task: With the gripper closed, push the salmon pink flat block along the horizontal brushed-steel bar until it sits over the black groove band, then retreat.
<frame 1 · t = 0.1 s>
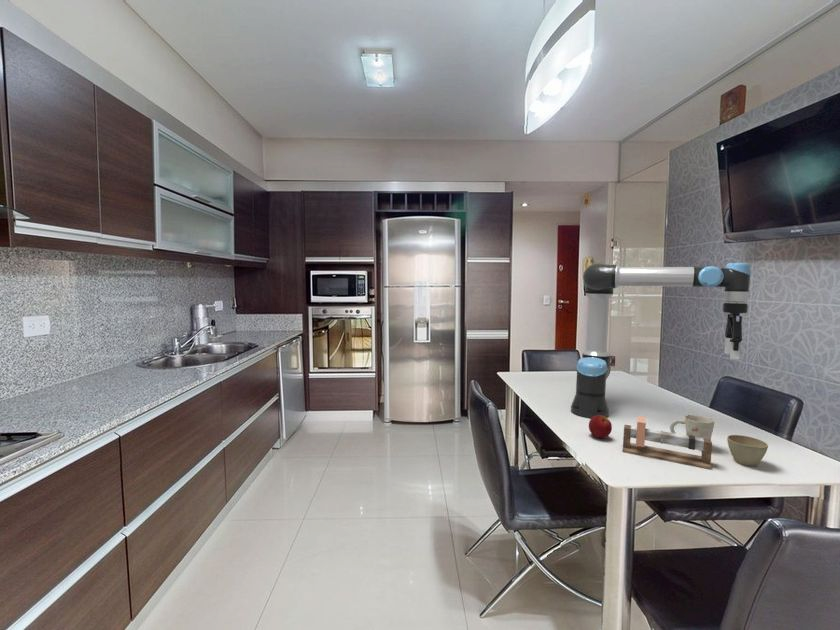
hand: (731, 356, 157), 28 cm above the table, fingers open, 13 cm apart
beige bowl: (745, 463, 126), on the table
pipe stand: (664, 455, 130), on the table
mug: (690, 446, 139), on the table
apple: (599, 437, 145), on the table
salmon pink flat block: (641, 431, 133), point 7 cm above the table, slide at 0.0 cm
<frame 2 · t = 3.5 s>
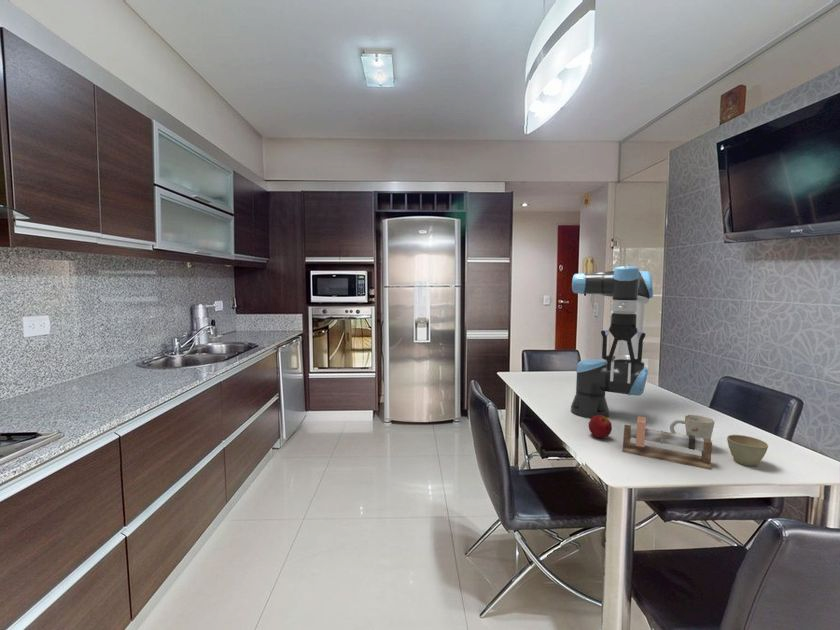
hand: (620, 381, 135), 23 cm above the table, fingers open, 4 cm apart
nothing on the table moved.
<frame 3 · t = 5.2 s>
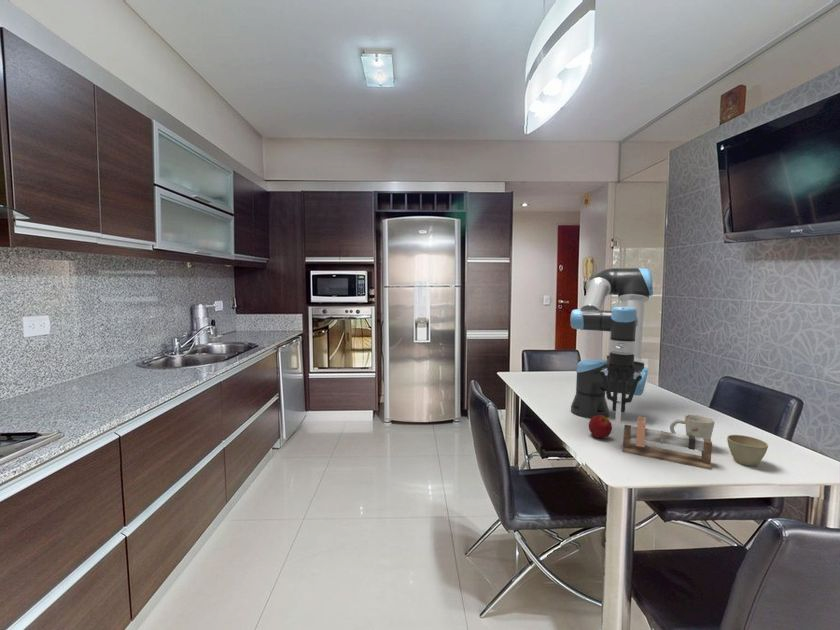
hand: (618, 420, 136), 9 cm above the table, fingers closed
nothing on the table moved.
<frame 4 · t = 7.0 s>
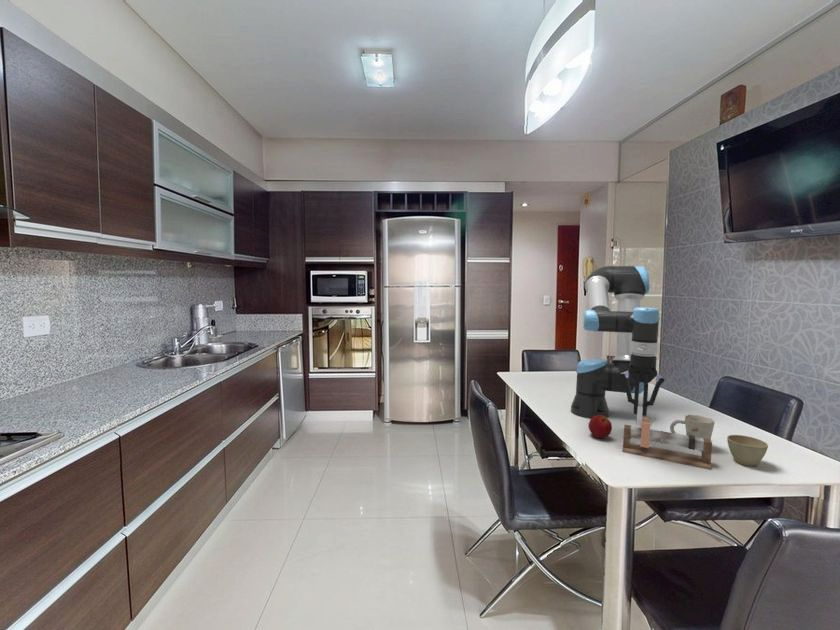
hand: (639, 424, 133), 9 cm above the table, fingers closed
salmon pink flat block: (645, 432, 132), point 7 cm above the table, slide at 1.3 cm, touching gripper
everything else where it was.
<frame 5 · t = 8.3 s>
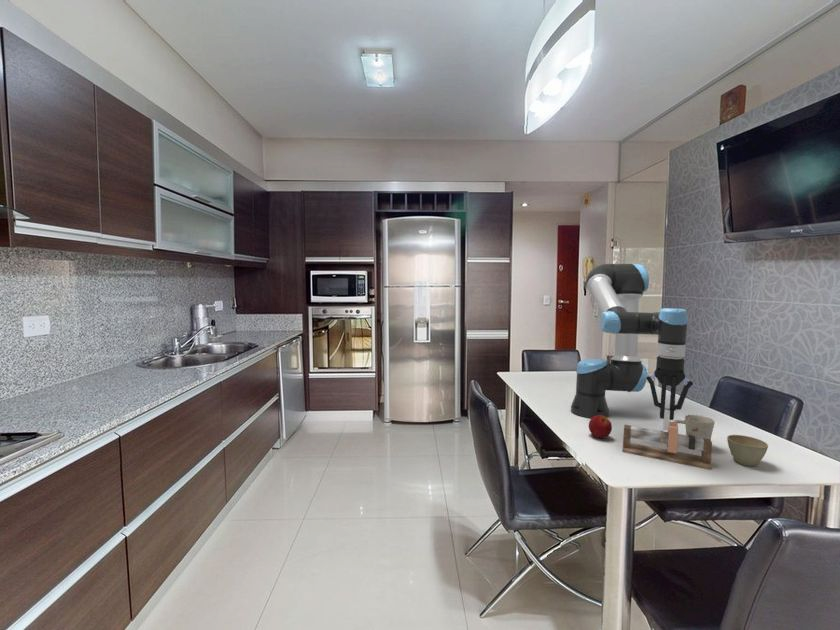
hand: (665, 428, 129), 9 cm above the table, fingers closed
salmon pink flat block: (672, 436, 128), point 7 cm above the table, slide at 8.9 cm, touching gripper
everything else where it was.
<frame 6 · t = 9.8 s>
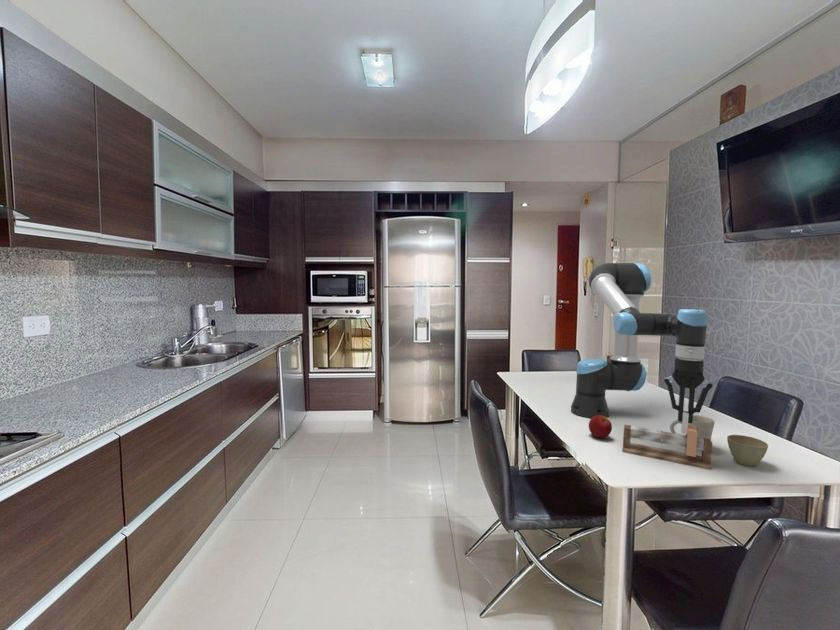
hand: (684, 432, 126), 9 cm above the table, fingers closed
salmon pink flat block: (691, 440, 126), point 7 cm above the table, slide at 13.8 cm, touching gripper
everything else where it was.
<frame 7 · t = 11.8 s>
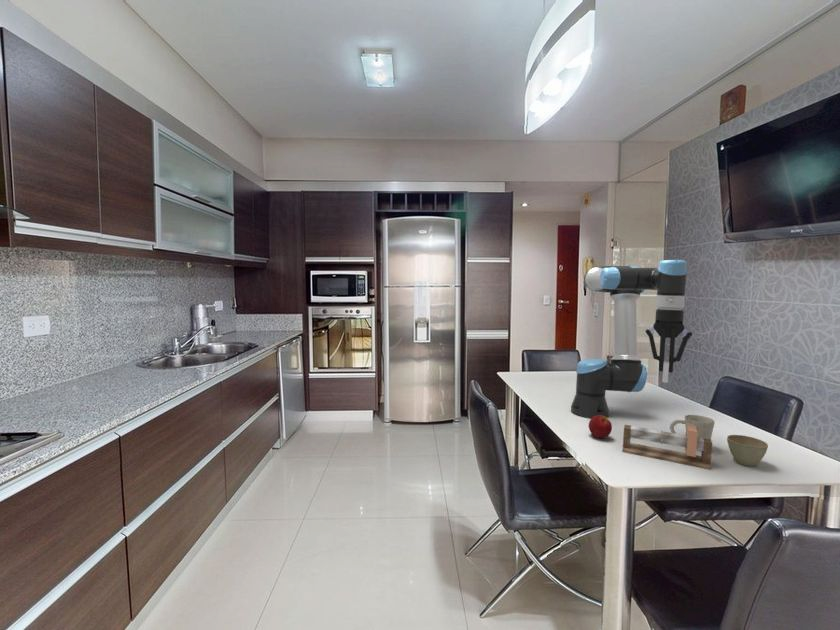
hand: (665, 381, 129), 24 cm above the table, fingers closed
salmon pink flat block: (691, 440, 126), point 7 cm above the table, slide at 13.9 cm
everything else where it was.
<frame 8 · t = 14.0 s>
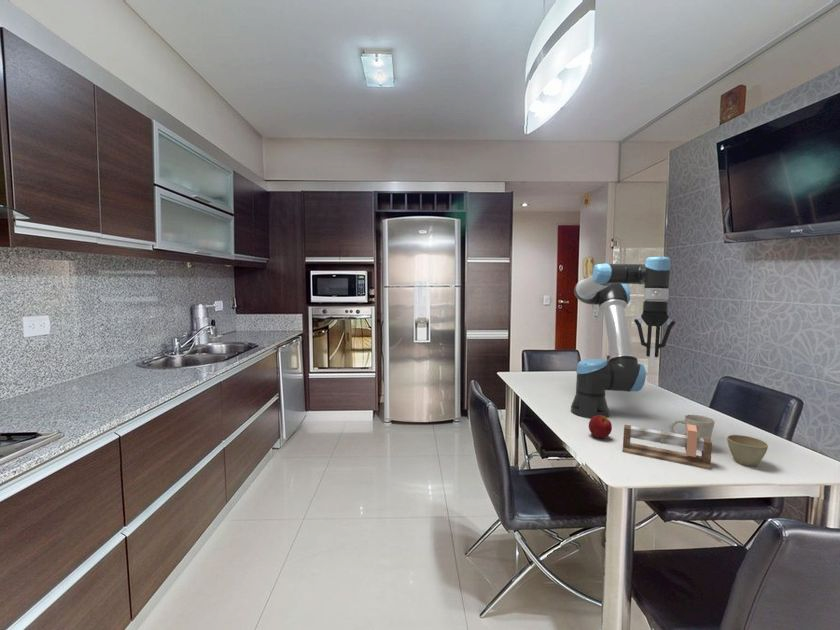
hand: (651, 365, 144), 26 cm above the table, fingers closed
nothing on the table moved.
at the end: salmon pink flat block slide at 13.9 cm; the gripper is holding nothing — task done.
